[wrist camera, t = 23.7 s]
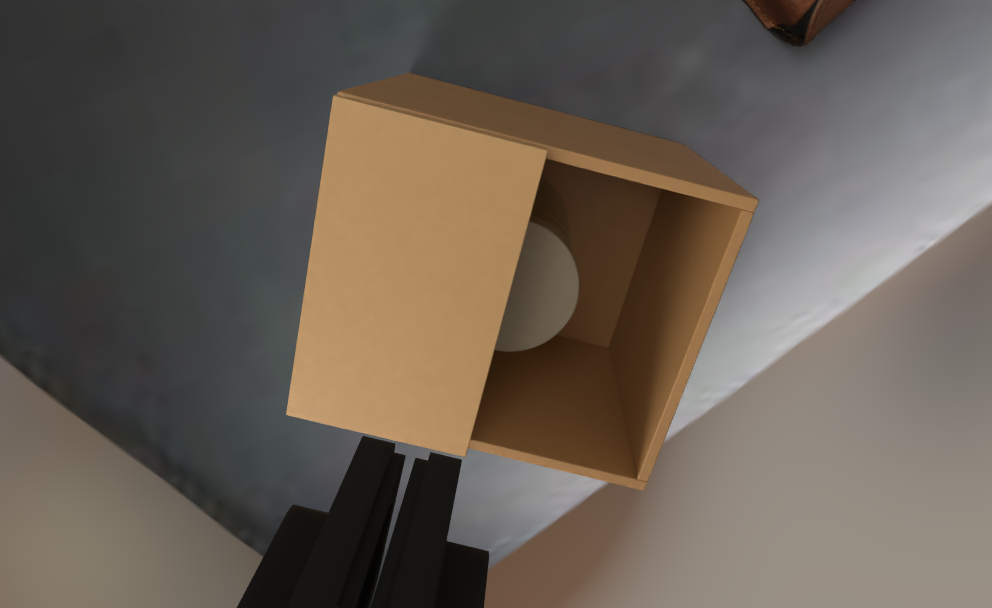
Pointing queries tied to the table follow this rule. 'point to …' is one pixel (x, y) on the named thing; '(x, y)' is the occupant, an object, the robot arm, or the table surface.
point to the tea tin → (541, 278)
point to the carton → (601, 283)
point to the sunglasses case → (797, 17)
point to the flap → (409, 273)
